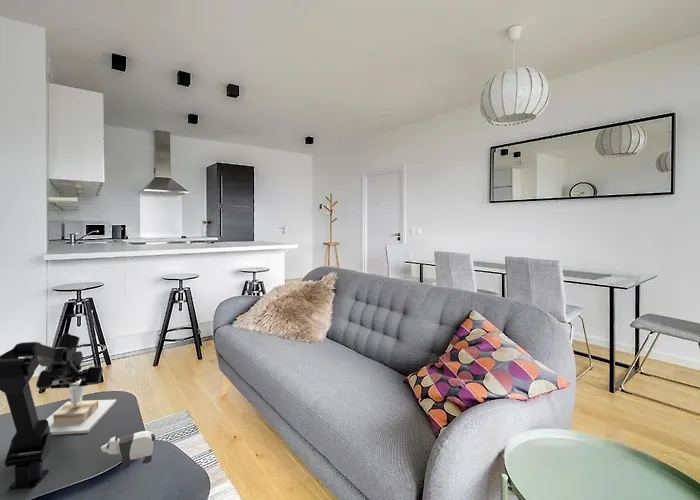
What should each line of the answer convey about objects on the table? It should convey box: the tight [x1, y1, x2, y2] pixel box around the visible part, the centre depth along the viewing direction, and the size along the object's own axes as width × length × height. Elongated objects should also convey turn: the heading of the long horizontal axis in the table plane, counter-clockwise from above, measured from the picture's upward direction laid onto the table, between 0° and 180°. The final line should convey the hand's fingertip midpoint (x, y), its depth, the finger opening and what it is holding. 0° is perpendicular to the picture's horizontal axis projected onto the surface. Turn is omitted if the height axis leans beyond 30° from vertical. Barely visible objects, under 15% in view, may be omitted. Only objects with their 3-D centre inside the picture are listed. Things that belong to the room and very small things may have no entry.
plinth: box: [53, 399, 99, 423], centre depth 137 cm, size 10×10×3 cm
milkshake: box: [68, 379, 84, 406], centre depth 136 cm, size 5×5×10 cm
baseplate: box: [45, 399, 117, 436], centre depth 137 cm, size 22×18×1 cm
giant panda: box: [99, 430, 156, 470], centre depth 113 cm, size 15×6×10 cm, turn 117°
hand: (77, 385), depth 137 cm, fingers closed on milkshake, 4 cm apart
